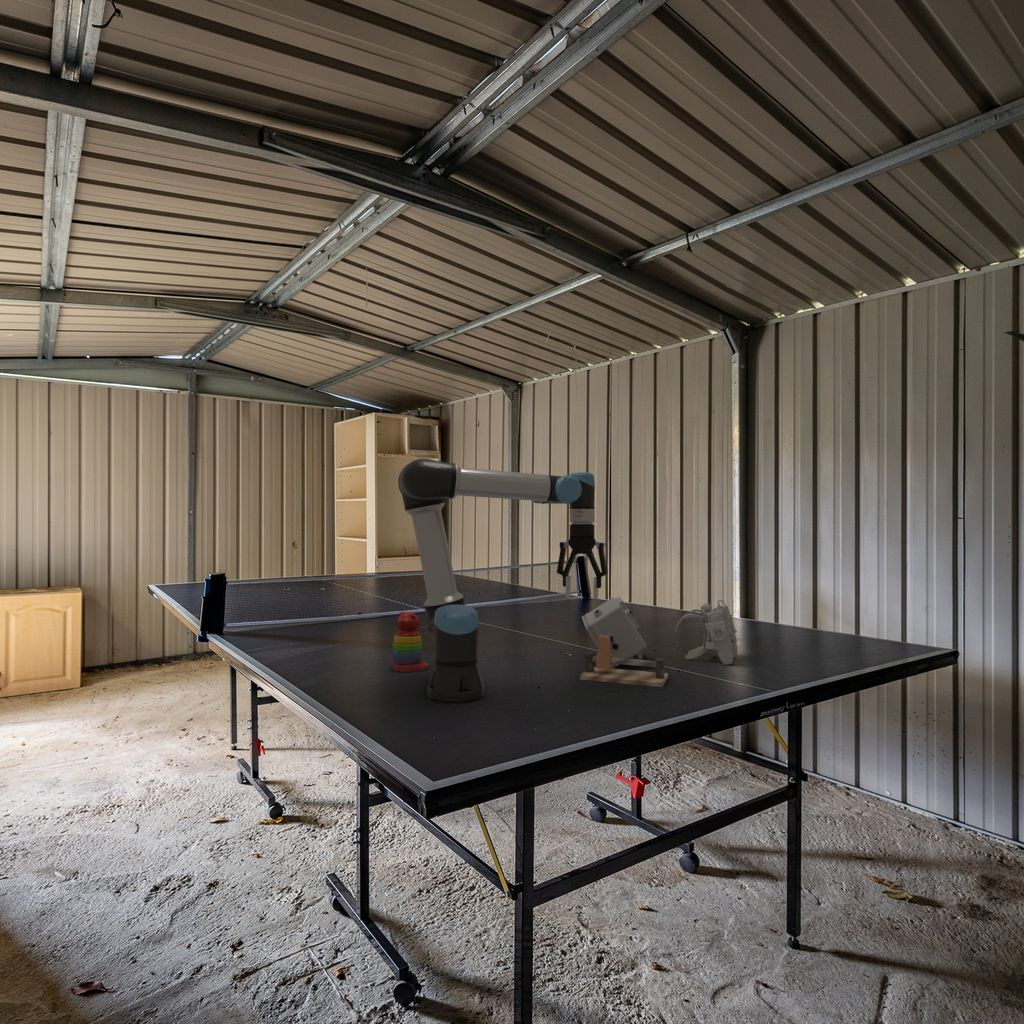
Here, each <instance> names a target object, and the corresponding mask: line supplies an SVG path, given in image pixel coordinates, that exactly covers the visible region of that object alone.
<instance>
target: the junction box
mask: <svg viewBox="0 0 1024 1024" xmlns="http://www.w3.org/2000/svg"><path fill="white" fill-rule="evenodd" d="M581 619H582V623H583V625H584V627H585V628H584V629H585V630H586V631H587V632H588V635H589V637H590V638H591V640H592V641H593V642H594V643H595V645H596V647H597V648H598V637H599V636H600V635H606V636H610V652H612V658H621V659H634V660H643V653H642V652H641V651H642V650H644V649H645V648H647V643H646V642H645V641H644V639H643V638H642V636H641V634H640V633H639V631H638V629H639V628H640V625H639V623H638V621H637V620H636V619H635V617H634V616H633V612H632V610H630V609H629V608H628V606H627V605H626V603H625V601H623V599H622V598H621V597H620V596H618V597H616V598H615V597H612V598H610V599H608V600H607V601H605V602H603V603H602V604H600V605H599V606H597V607H596V608H594V609H592V610H591V611H589V612H586V613H585V614H584V615H581ZM634 656H636V657H634ZM620 665H621V664H612V667H611V669H616V667H618V666H620Z"/></svg>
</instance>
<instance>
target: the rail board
mask: <svg viewBox="0 0 1024 1024" xmlns="http://www.w3.org/2000/svg"><path fill="white" fill-rule="evenodd" d="M584 657H585V659H584V660H585V661H584V663H585V664H584V668H585V669H584V671H583V672H582V673H581V674H580V675H579V681H580V680H582V681H592V682H603V683H613V684H623V685H624V684H625V685H635V686H643V687H644V686H645V687H655V688H656V687H657V688H663V687H664V685H665V684H666V681H667V679H668V678H669V673H668V672H665V658H663V657H661V658H660V657H658V658H656V659H655V660H645V659H641V660H634V659H621V658H610V663H612V664H620V665H627V666H639V667H650V668H655V671H646V670H633V669H621V668H613V669H612V668H610V669H603V668H596V666H595V663H596V655H595V653H594V652H586V653H585V654H584Z"/></svg>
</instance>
